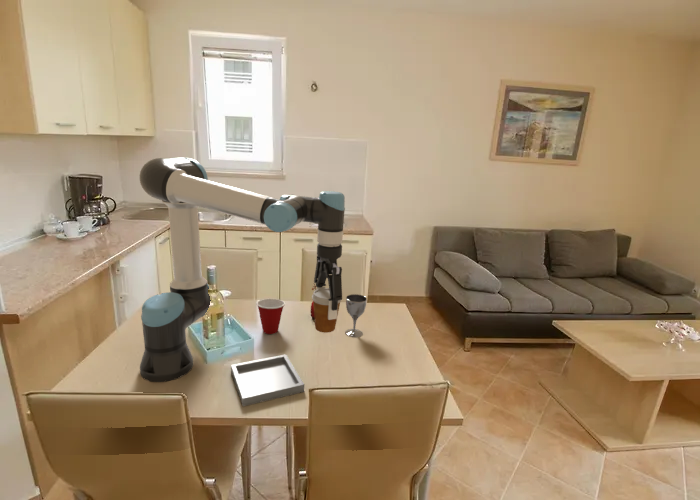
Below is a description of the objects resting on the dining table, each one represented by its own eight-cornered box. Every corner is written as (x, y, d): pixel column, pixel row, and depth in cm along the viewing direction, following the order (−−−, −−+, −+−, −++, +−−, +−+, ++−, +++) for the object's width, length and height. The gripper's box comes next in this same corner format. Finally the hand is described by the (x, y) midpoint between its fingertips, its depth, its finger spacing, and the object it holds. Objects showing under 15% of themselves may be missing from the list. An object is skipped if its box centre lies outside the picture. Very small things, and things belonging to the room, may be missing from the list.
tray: (242, 406, 106) (242, 398, 106) (231, 371, 122) (230, 364, 121) (304, 391, 114) (304, 384, 114) (285, 360, 130) (286, 354, 129)
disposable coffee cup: (307, 323, 125) (308, 288, 122) (334, 320, 129) (336, 286, 125) (314, 336, 117) (316, 300, 113) (344, 333, 120) (346, 298, 117)
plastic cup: (287, 325, 155) (288, 298, 152) (280, 338, 144) (280, 309, 141) (261, 323, 156) (261, 295, 152) (252, 335, 145) (252, 306, 142)
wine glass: (341, 335, 149) (343, 300, 145) (346, 327, 157) (349, 292, 153) (361, 339, 148) (364, 303, 144) (365, 330, 155) (368, 295, 151)
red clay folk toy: (320, 322, 159) (322, 288, 155) (306, 318, 162) (307, 285, 158) (329, 316, 166) (331, 283, 162) (315, 312, 169) (317, 280, 165)
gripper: (357, 252, 108) (352, 325, 114) (327, 234, 126) (323, 298, 132) (333, 254, 104) (328, 329, 110) (305, 235, 123) (303, 300, 129)
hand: (326, 312), depth 121 cm, fingers closed on disposable coffee cup, 9 cm apart
